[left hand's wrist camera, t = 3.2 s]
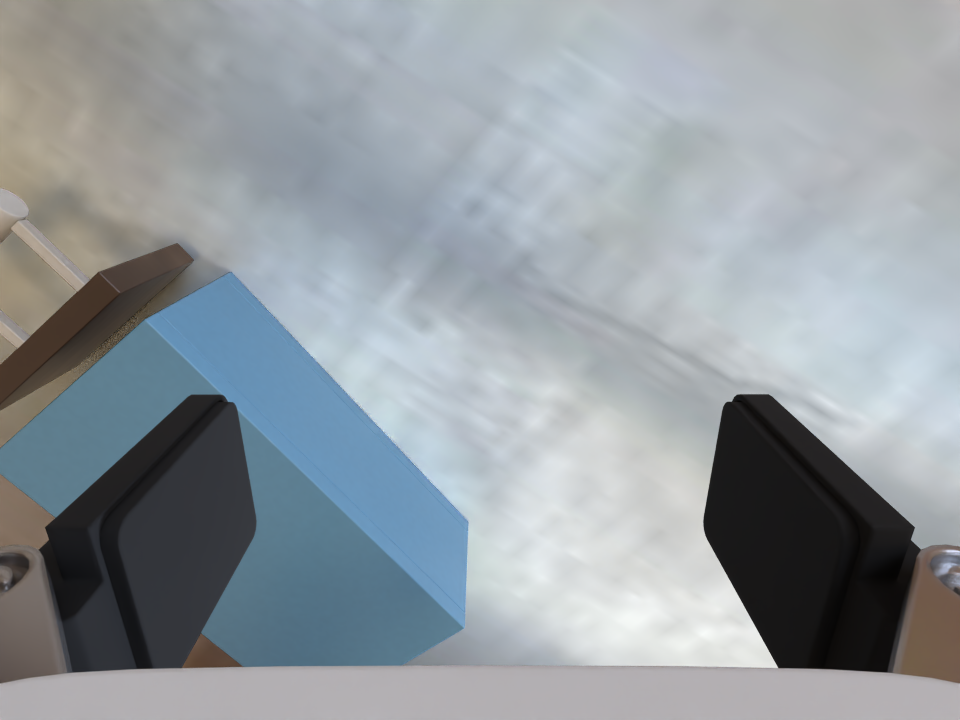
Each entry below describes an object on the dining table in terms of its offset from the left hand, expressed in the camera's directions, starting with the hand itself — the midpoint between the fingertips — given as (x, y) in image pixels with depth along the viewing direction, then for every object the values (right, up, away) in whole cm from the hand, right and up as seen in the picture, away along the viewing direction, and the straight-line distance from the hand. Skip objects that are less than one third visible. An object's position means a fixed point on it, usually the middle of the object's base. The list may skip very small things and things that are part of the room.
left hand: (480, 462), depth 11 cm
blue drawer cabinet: (-12, -4, +26) cm, 28 cm away
